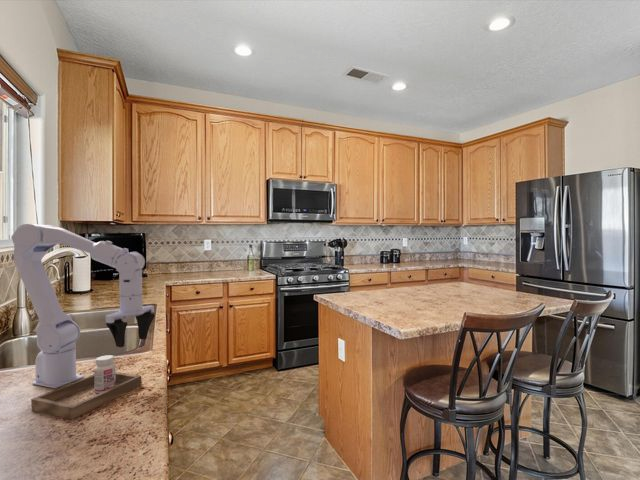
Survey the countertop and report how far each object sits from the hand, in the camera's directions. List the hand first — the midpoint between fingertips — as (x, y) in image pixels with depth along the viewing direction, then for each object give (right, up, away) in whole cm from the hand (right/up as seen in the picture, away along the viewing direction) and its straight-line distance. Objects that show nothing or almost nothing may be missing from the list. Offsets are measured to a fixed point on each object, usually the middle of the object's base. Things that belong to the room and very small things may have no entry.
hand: (131, 342), depth 100 cm
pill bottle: (-3, -10, -8) cm, 13 cm away
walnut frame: (-4, -10, -12) cm, 16 cm away
